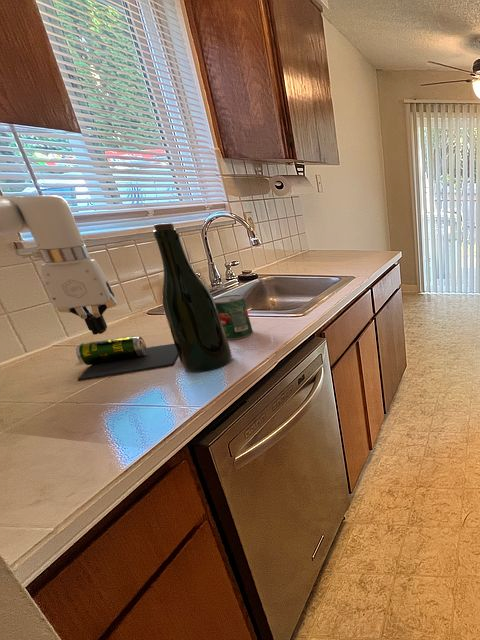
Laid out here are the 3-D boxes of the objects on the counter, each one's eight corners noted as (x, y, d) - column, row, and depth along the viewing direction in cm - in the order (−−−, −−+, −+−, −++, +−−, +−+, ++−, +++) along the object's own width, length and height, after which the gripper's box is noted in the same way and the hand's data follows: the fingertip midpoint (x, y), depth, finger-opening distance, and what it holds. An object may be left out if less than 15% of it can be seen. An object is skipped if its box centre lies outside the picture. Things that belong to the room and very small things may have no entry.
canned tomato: (216, 339, 114) (204, 301, 109) (236, 329, 121) (225, 294, 116) (240, 340, 113) (229, 302, 108) (259, 330, 120) (249, 295, 115)
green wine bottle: (186, 360, 100) (137, 222, 87) (233, 352, 105) (194, 220, 91) (180, 376, 92) (125, 227, 78) (232, 367, 96) (189, 223, 83)
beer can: (87, 349, 100) (146, 341, 105) (88, 369, 98) (147, 359, 103) (74, 340, 95) (137, 331, 100) (75, 360, 93) (138, 350, 98)
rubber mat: (78, 380, 91) (77, 378, 91) (103, 355, 104) (102, 353, 104) (172, 365, 98) (172, 363, 98) (184, 343, 111) (184, 342, 111)
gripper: (11, 261, 83) (52, 342, 90) (102, 254, 89) (133, 332, 96) (30, 255, 89) (66, 332, 97) (113, 250, 95) (142, 323, 102)
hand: (100, 332), depth 96 cm, fingers closed
